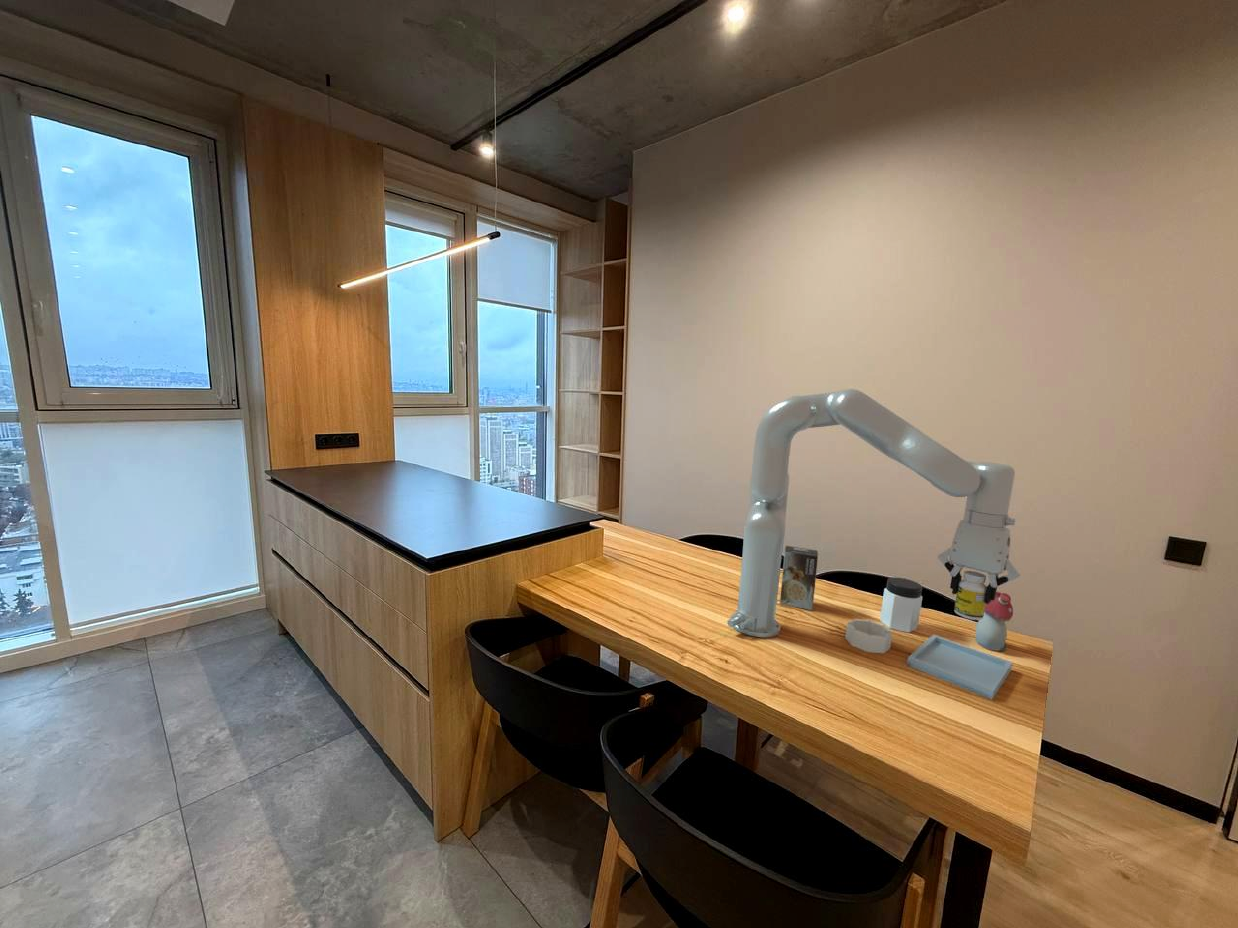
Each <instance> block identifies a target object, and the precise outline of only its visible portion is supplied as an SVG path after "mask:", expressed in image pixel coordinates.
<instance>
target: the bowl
mask: <svg viewBox="0 0 1238 928" xmlns="http://www.w3.org/2000/svg"><path fill="white" fill-rule="evenodd" d="M845 630H846V631H845V639H846V640H847V642H848V643H849V644H850V646H852V647H854V648H857V649H858V650H859V649H860V650H862V651H864V652H867V653H873V654H875V653H876V654H886V652H888V651H889V650H891V645H892V638H893V632H892V631H891V630H890V629H889V628H887V626H886V625H885V624H881V623H878V622H875V621H873V620H869V619H858V618H854V619H851V620H850V621H848V622H847V623H846V629H845Z"/></svg>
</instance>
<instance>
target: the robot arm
mask: <svg viewBox="0 0 1238 928" xmlns="http://www.w3.org/2000/svg"><path fill="white" fill-rule="evenodd" d="M840 425H841V426H843V427H845V429H847V430H848V431H850V432H851V433H853V434H854V435H856V436H857V437H858V438H860V439H862V440H863V441H864V442H865V443H867V444H868V445H870V446H872V447H873V448H874V449H876V450H877V451H879V452H880V453H882V454H883V455H884V456H886V457H888V458H889V459H891V460H894V461H896V462H898V463H900V464H902V465H903V466H905V467H907V468H908V469H909V470H912V471H913V472H914V473H916V474H918V475H919V476H920V477H922V478H923V479H925V480H926V481H928V482H929V483H930V484H931V485H932V486H933V487H934V488H936V489H937V490H940V491H941V492H943V493H944V494H946V495H948V496H950V497H954V498H965V497H966V501H965V509H964V513H963V514H964V515H963V519H960V520H959V522H958V524H957V527H956V529H955V532H954V534H953V535H954V536H953V539H952V542H951V547H949V548H948V549H946V550H944V551H942V552H941V553H939V554H938V555H937V559H938V560H939V561H940V562H941V564H943V565H944V567H945V568H946V570H947V571H948V572H949V575H950V576H951V579H950V585H949V588H950V589H951V591H952V592H951V594H952V595H957V590H958V585H959V582H960V581H961V580H962V578H963V576H962V575H961V574H962V573H961V572H962V570H963V568H968V569H970V570H971V569H972V570H976V571H980V572H983V573H987V575H988V581H989V583H988V585H986V586H987V589H986V594H985V600H984V602H985V603H986V604H989V603H990V602H991V600H993V601H994V600H995V596H996V592H997V590H998V587H1000V586H1001V585H1003V584H1006V583H1009V582H1011V581H1013V580H1016V579H1018V578H1020V573H1019V572H1018V570H1017V569H1016V567H1015V566H1014V565H1013V564H1012V563H1011V561H1010V560H1009V559H1010V549H1011V530H1010V528H1008V527H1007V526H1015V524H1016V519H1015V518H1011V517H1010V516H1009V510H1010V504H1011V498H1012V491H1013V485H1014V480H1015V469H1014V468H1013V467H1012V466H1010V465H1007V464H1003V463H997V462H995V463H994V462H985V461H984V462H973V461H967V460H965V459H963V458H962V457H961V456H958V454H956V453H954V452H953V451H951V450H950V449H949V448H946V447H945V446H944V445H942V444H940V443H939V442H937V441H936V440H934V439H932V438H931V437H929V436H928V435H927V434H925V433H924V432H922V430H920V429H919V428H917V427H915V426H914V425H912V424H911V423H910V422H908V421H906V420H905V419H904V418H902V417H901V416H899V415H897V414H896V413H894V412H893V411H891V410H890V409H888V408H886V406H884V405H882V404H881V403H880V402H878V401H877V400H874V399H873V398H872V397H871V396H869V395H867V394H866V393H864V392H863V391H861V390H859V389H856V388H855V389H854V388H847V389H842V390H838V391H837V390H836V391H831V392H824V393H815V394H808V395H807V394H806V395H794V396H789V397H788V398H785V399H783V400H781V401H780V402H778V403H776V404H774V405H773V406H771V407H770V408H769V409H768V410H767V411H766V412H765V413H764V415H763V416H762V418H761V419H760V420H759V423H758V425H757V429H756V433H755V437H754V438H755V439H754V446H753V447H754V448H753V449H754V450H753V456H752V466H751V467H752V468H751V474H750V478H749V487H750V498H749V499H750V501H749V512H748V515H747V516H746V517H747V518H746V520H745V523H744V527H743V528H744V529H743V543H742V544H743V545H742V557H741V569H740V576H739V577H740V578H739V579H740V580H739V588H738V600H737V608H736V609H737V610H735V612H734V613H732V614H731V615H730V619H728V620H727V622H726V623H727V625H728V627H729V628H733V629H734V630H736V631H737V632H739V633H741V634H743V635H747V636H750V637H755V638H772V637H775V636H777V635H779V634H780V632H781V625H780V623H779V621H777V620H776V613H777V609H776V608H777V605H778V604H777V602H778V594H779V585H780V584H779V583H780V575H781V565H782V556H783V548H784V542H785V535H786V519H787V508H788V507H787V504H788V496H789V495H788V494H789V485H790V476H789V466H790V465H789V462H790V456H791V455H790V453H791V445H792V441H793V438H794V437H795V436H796V434H797V433H799V432H802V431H805V430H807V429H812V428H823V427H832V426H833V427H834V426H840ZM948 557H949V558H948ZM1004 571H1006V572H1007V573H1008V574H1006V575H1003V576H999V575H1001V574H1002V573H1004Z"/></svg>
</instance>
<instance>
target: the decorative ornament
mask: <svg viewBox="0 0 1238 928" xmlns="http://www.w3.org/2000/svg"><path fill="white" fill-rule="evenodd" d="M1011 599H1012V597H1011V596H1010V595H1009V594H1007V593H1005V592H999V591H996V596H995V600H994V601H993V600H991V602H990V603H989V604H985V610H984V616H983V619H981V620H978V621H977V624H976V627H975V641H976V642H977V644H979V645H980V646H982V647H983V648H985V649H987V650H989V651H995V652H1004V651H1006V650H1007V645H1006V644H1007V643H1006V641H1007V637H1008V636H1007V635H1008V632H1007V625H1006V622H1009V621H1010V620H1011V619H1012V618H1013V615H1014V608H1013V605H1012V602H1011V601H1012V600H1011Z"/></svg>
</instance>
